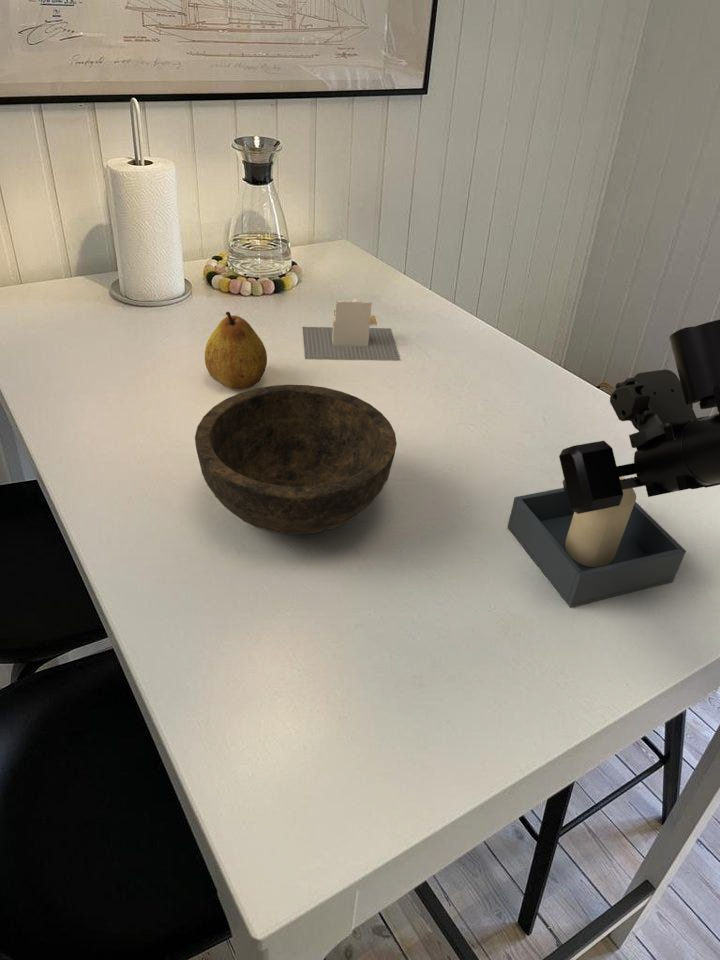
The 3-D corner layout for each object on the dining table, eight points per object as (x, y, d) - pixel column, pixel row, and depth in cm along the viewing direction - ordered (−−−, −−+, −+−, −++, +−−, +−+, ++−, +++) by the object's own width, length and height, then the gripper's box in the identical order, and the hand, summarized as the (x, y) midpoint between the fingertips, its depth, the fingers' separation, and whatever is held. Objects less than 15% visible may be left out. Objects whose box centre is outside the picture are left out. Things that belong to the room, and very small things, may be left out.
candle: (610, 538, 86) (635, 467, 80) (617, 571, 82) (644, 499, 76) (562, 531, 86) (583, 461, 80) (566, 564, 82) (589, 492, 76)
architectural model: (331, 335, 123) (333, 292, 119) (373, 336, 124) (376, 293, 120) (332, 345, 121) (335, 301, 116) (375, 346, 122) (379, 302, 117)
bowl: (427, 517, 88) (438, 446, 82) (276, 601, 75) (276, 525, 69) (309, 433, 100) (311, 366, 94) (164, 494, 88) (156, 422, 82)
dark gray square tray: (673, 581, 82) (686, 551, 79) (569, 607, 77) (580, 576, 75) (602, 507, 91) (612, 478, 89) (507, 527, 87) (514, 496, 84)
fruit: (243, 360, 115) (241, 286, 108) (279, 385, 109) (279, 308, 102) (194, 376, 110) (188, 299, 103) (229, 403, 105) (225, 323, 97)
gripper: (768, 350, 69) (654, 394, 84) (597, 373, 63) (508, 417, 78) (799, 468, 68) (678, 492, 82) (629, 504, 62) (532, 522, 77)
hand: (601, 478), depth 80 cm, fingers open, 9 cm apart
